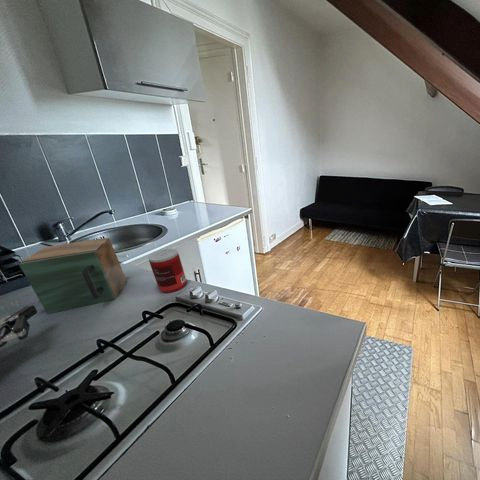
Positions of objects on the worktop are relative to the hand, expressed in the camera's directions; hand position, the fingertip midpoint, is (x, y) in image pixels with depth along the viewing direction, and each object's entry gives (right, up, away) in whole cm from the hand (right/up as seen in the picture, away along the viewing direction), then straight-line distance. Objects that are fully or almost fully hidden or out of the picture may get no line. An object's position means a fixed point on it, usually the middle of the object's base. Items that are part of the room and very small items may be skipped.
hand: (32, 309), depth 61 cm
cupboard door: (+1, -3, +10) cm, 11 cm away
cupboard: (-1, -1, +17) cm, 17 cm away
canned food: (+22, +2, +19) cm, 29 cm away
